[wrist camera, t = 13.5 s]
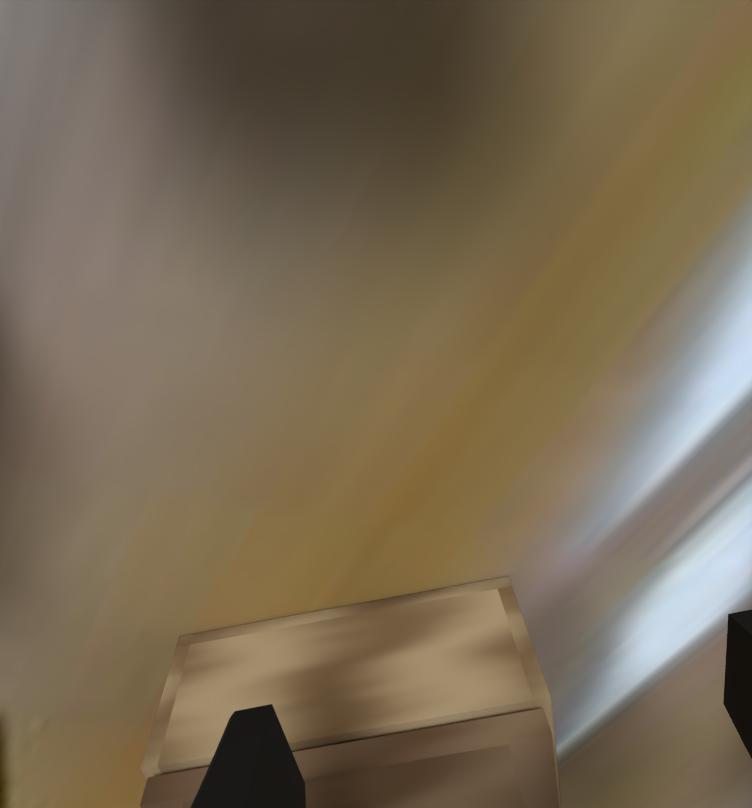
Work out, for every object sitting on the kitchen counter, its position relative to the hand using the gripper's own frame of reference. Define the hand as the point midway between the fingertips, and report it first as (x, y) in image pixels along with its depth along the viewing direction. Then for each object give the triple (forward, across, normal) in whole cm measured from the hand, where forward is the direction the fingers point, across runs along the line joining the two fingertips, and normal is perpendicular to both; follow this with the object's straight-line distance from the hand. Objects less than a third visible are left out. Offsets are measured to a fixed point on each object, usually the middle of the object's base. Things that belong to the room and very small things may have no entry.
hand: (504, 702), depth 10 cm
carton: (+10, +4, +12) cm, 16 cm away
